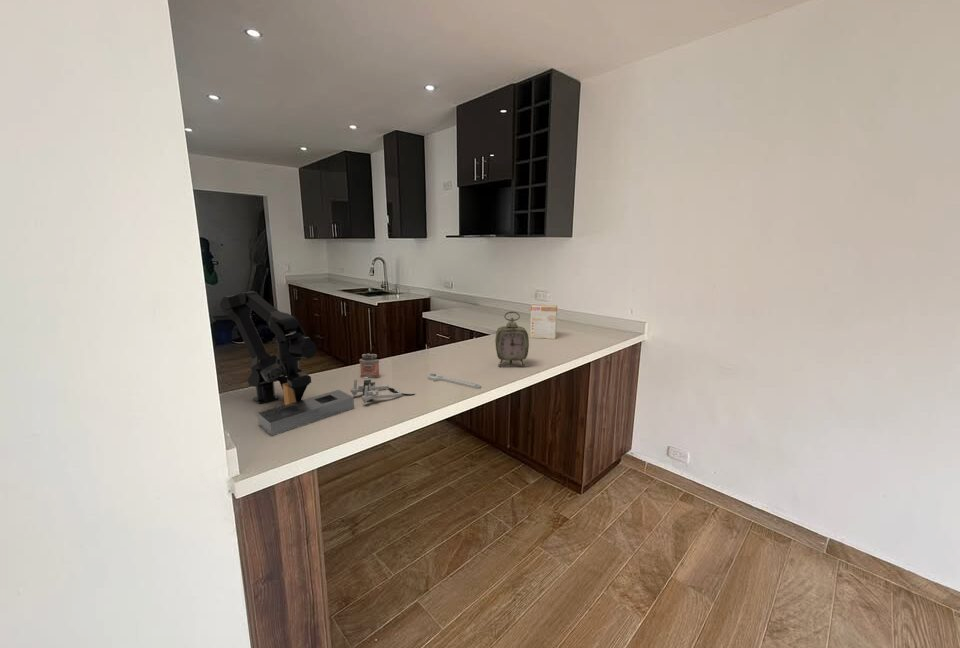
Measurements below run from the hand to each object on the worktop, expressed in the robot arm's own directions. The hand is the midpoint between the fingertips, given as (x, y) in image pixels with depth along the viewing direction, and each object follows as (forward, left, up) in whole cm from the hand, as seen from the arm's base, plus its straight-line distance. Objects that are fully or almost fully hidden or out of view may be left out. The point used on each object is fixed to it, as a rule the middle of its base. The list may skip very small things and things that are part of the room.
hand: (292, 399), depth 130 cm
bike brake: (+14, +26, -3) cm, 30 cm away
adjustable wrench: (+23, +53, -3) cm, 57 cm away
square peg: (0, 0, -3) cm, 3 cm away
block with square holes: (+12, 0, -2) cm, 12 cm away
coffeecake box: (+6, +144, -3) cm, 144 cm away
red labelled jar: (-7, +34, -3) cm, 35 cm away
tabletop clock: (+26, +87, -3) cm, 91 cm away
